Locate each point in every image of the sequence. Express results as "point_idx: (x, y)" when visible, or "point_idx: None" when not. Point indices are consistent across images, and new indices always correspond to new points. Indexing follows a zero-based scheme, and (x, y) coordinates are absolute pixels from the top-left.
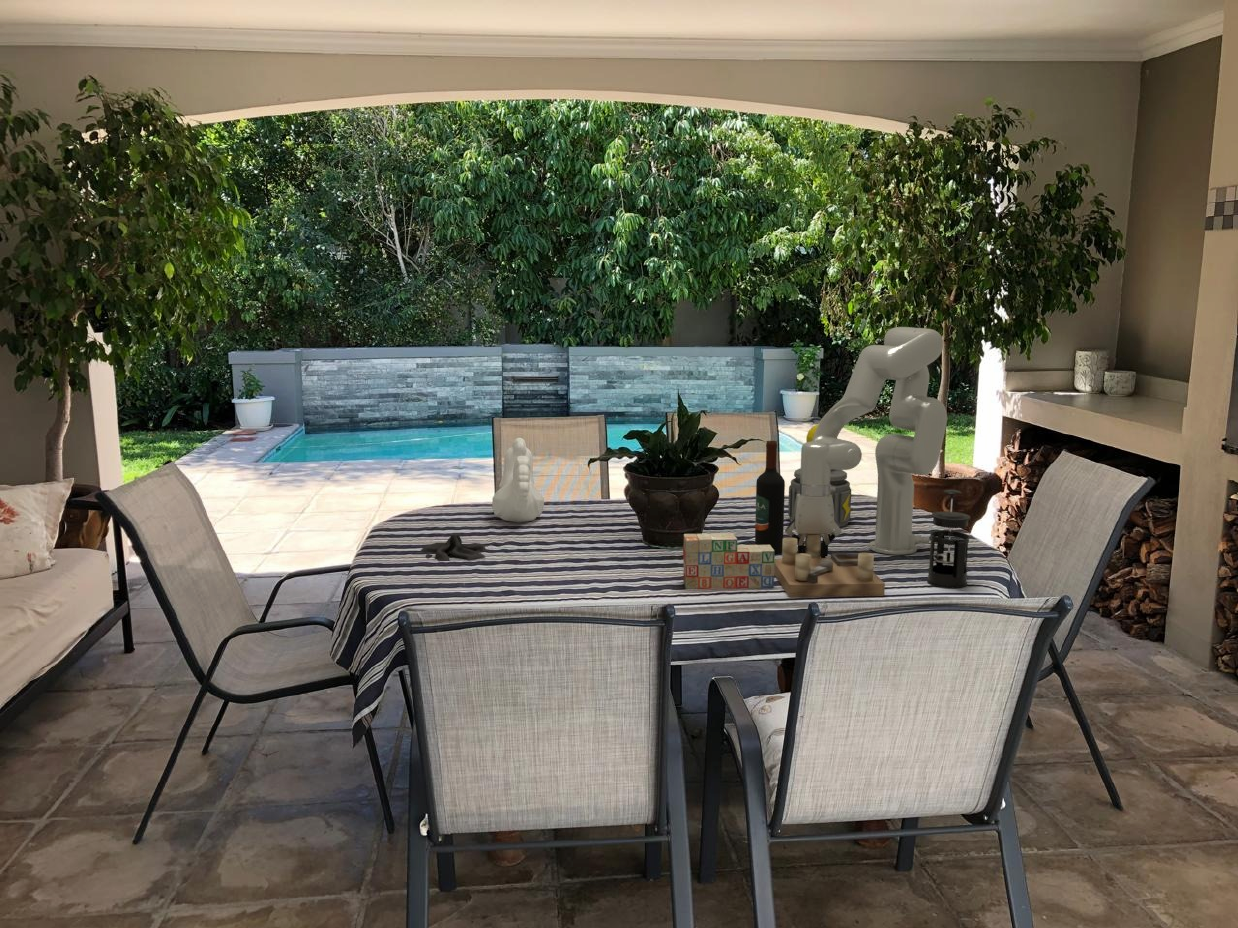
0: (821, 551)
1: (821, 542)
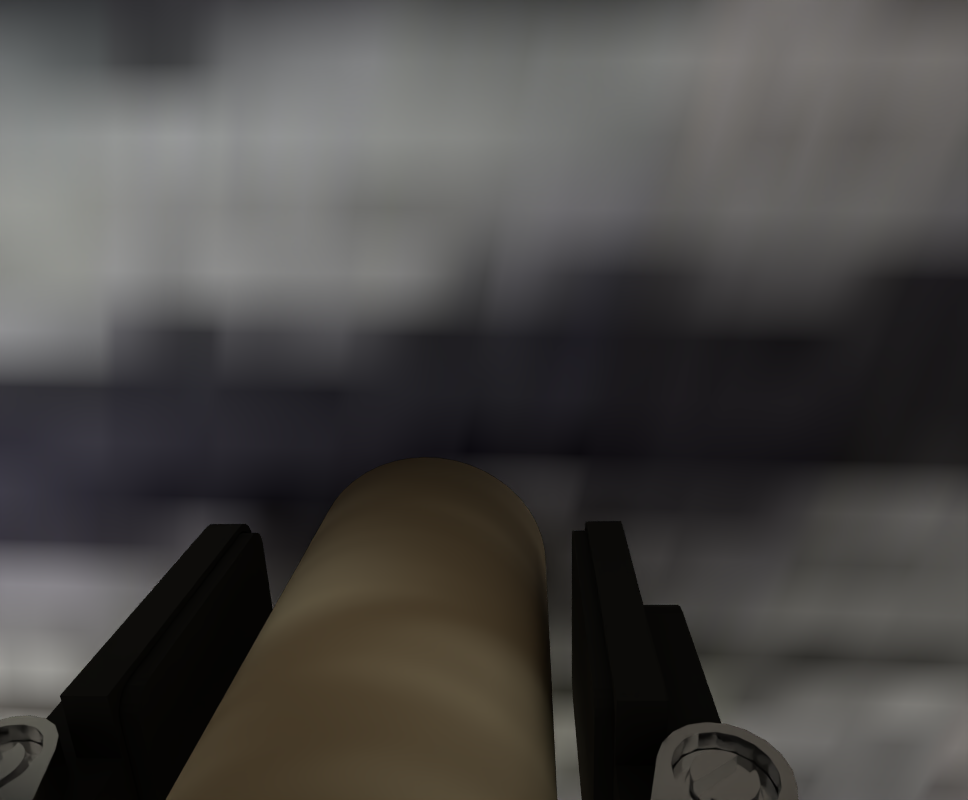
0: (579, 669)
1: (615, 710)
